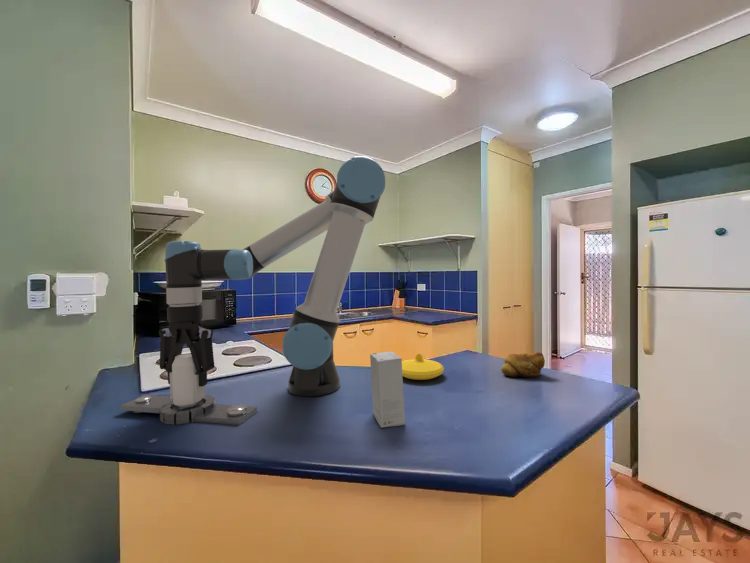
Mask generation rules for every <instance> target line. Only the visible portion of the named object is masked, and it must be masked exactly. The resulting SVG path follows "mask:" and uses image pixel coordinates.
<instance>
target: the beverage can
mask: <svg viewBox="0 0 750 563" xmlns="http://www.w3.org/2000/svg"><path fill="white" fill-rule="evenodd" d="M196 372H197V371H196V368H195V365H194V361H193V358H192V355H191V352H189V353H181V355H177V356H175V360H174V362H173V364H172V381H173V403H174V405H176V406H178V407H189V406H193V405H195V404H197V403H198V402H199V401H200V400H199V401H195V397H194V374H195V373H196Z"/></svg>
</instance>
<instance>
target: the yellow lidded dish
mask: <svg viewBox="0 0 750 563" xmlns="http://www.w3.org/2000/svg"><path fill="white" fill-rule="evenodd" d="M444 370H445V368H444V366H443V365H442V363H440V362H438V361H435V360H432V359H425V358H424V359H423V354H421V353H416V354H415V357H414V358H413V359H412V358H411V359H406V360H405V359H404V360H402V377H403V378H406V379H409V380H414V381H415V380H416V381H427V380H431V379H435V378H437V377H439V376H441V375H442V374H443V372H444Z"/></svg>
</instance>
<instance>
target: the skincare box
mask: <svg viewBox="0 0 750 563" xmlns="http://www.w3.org/2000/svg"><path fill="white" fill-rule="evenodd" d="M369 355H370V357H369V358H370V374H371V375H370V377H371V378H370V379H371V381H370V382H371V397H372V398H371V399H372V414H373V416H374V418H375V419H376V421H377V423H378V425H379V427H380V428H389V427H398V426H399V427H400V426H405V424H406V416H405V415H406V413H405V397H404V394H405V393H404V383H403V382H404V380H403V378H404V377H403V376H402V361H403V359H402V357H401V356H399V355H397V354H396V353H395V352H393V351H383V352H375V353H370V354H369Z"/></svg>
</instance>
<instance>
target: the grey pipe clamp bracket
mask: <svg viewBox="0 0 750 563" xmlns="http://www.w3.org/2000/svg"><path fill="white" fill-rule="evenodd" d="M119 409H120V411H128V412H132V413H133V414H135V415H136V414H138V415H139V414H143V413H151V414H159V420H160V422H161V423H162V424H164V425H177V426H178V425H182V424H189V423H190V422H191V423H193V422H199V423H210V424H222V425H224V424H225V425H232V426H233V425H234V426H240V425H242V424H243V423H244V422H246V421H247V420H248V419H250V418H251V417H253V416H254V415H255V414H256V413H258V407H257V406H247V404H236V405H232V404H218V403H217V404H216V397H214V396H212V395H210V394H209V395H208V394H205V397H204V398H202V399H201V400H200V401H199V402H198V403H197V404H195V405H193V406H189V407H178V406H176V405H174V403H173V399H170V395H168V396H167V395H154V394H144V395H142V396H139V397H137V398H134V399H133V400H130V401H127V402H125V403H122V404H120V408H119Z"/></svg>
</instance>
